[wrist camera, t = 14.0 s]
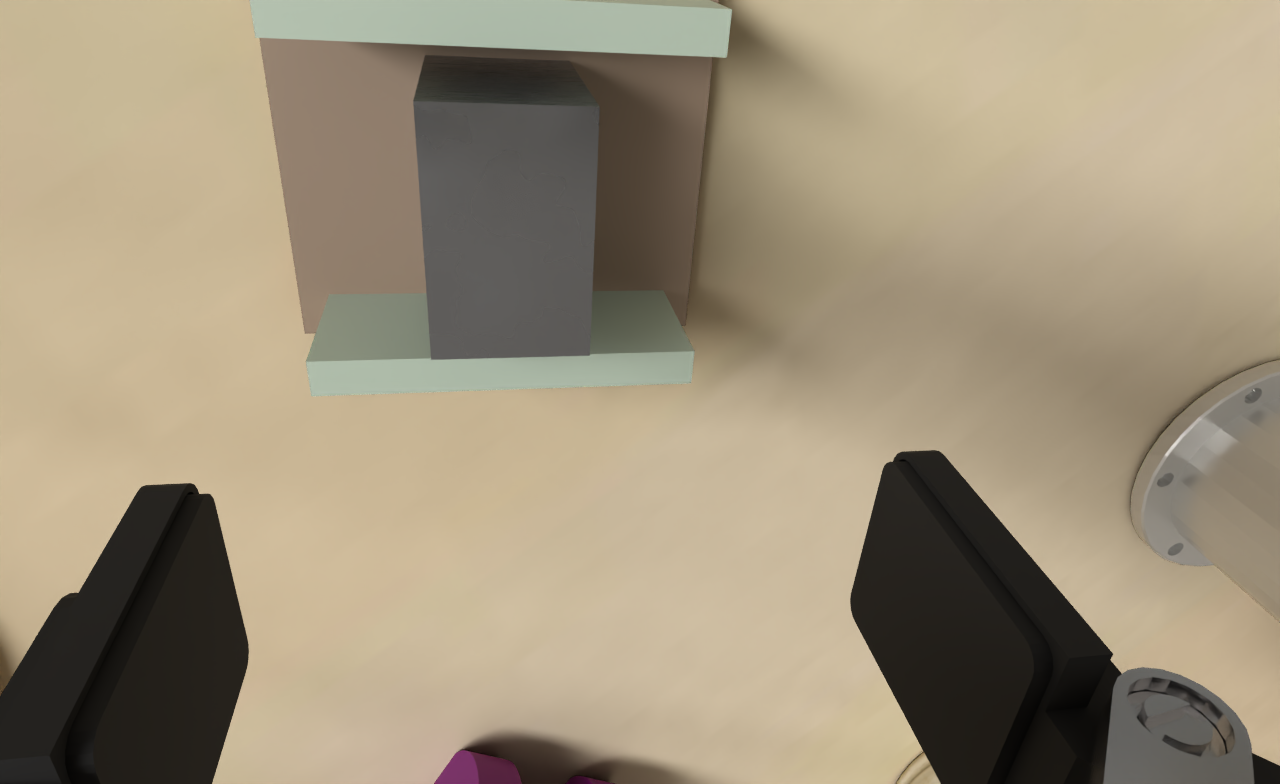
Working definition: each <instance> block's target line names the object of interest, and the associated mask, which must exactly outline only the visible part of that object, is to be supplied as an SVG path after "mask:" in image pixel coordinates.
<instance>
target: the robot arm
mask: <svg viewBox="0 0 1280 784" xmlns="http://www.w3.org/2000/svg"><path fill="white" fill-rule="evenodd" d="M1130 512H1131V518H1132V523H1133V526H1134V528H1135V530H1136V532H1137V534H1138V536H1139V537H1140V538H1141V539H1142V540H1143V541H1144V542H1145V543H1146V544H1147V545H1148V546H1149V547H1150V548H1151V549H1152V550H1153V551H1154V552H1155V553H1156V554H1158V555H1159V556H1160V557H1162V558H1163V559H1165V560H1167V561H1170V562H1173V563H1176V564H1180V565H1188V566H1208V565H1215V566H1216V567H1217V568H1219V569H1220V570H1221V571H1222V572H1223V573H1224V574H1225V575H1226V576H1228V577H1229V578H1230V579H1231V580H1232V581H1233V582H1234V583H1235V584H1237V585H1238V586H1239V587H1240V588H1241V589H1242V590H1243V591H1245V592H1246V593H1247V594H1248V595H1249V596H1250V597H1251V598H1252V599H1254V600H1255V601H1256V602H1257V603H1258V604H1259V605H1260V606H1261V607H1263V608H1264V609H1265V610H1266V611H1267V612H1268V613H1269V614H1270V615H1272V616H1273V617H1274V618H1275V619H1276V620H1277V621H1278V622H1279V623H1280V360H1277V361H1272V362H1268V363H1265V364H1262V365H1259V366H1257V367H1254V368H1251V369H1249V370H1246V371H1243V372H1241V373H1239V374H1237V375H1235V376H1233V377H1232V378H1230V379H1228V380H1226V381H1224V382H1222V383H1220V384H1218V385H1217V386H1216V387H1214V388H1213V389H1211V390H1210V391H1208V392H1207V393H1205V394H1204V395H1202V396H1201V397H1200V398H1198V399H1197V400H1196V401H1194V402H1193V403H1192V404H1191V405H1190V406H1189V407H1188V408H1186V409H1185V410H1184V411H1183V412H1182V413H1181V414H1180V415H1179V416H1177V417H1176V419H1175V420H1174V421H1173V422H1172V423H1171V424H1170V425H1169V426H1168V427H1167V429H1166V430H1165V431H1164V432H1163V433H1162V434H1161V435H1160V437H1159V438H1158V439H1157V441H1156V442H1155V444H1154V445H1153V447H1152V448H1151V450H1150V451H1149V452H1148V454H1147V456H1146V458H1145V460H1144V462H1143V464H1142V466H1141V468H1140V470H1139V472H1138V474H1137V477H1136V480H1135V483H1134V487H1133V490H1132V494H1131V506H1130ZM850 602H851V611H852V615H853V618H854V620H855V622H856V624H857V626H858V628H859V630H860V632H861V634H862V636H863V637H864V639H865V641H866V643H867V645H868V647H869V649H870V651H871V653H872V655H873V656H874V658H875V660H876V662H877V664H878V666H879V668H880V670H881V672H882V673H883V675H884V677H885V679H886V681H887V683H888V685H889V687H890V689H891V690H892V692H893V694H894V696H895V698H896V700H897V702H898V704H899V706H900V708H901V709H902V711H903V713H904V715H905V717H906V719H907V721H908V723H909V725H910V726H911V728H912V730H913V732H914V734H915V736H916V738H917V740H918V742H919V744H920V745H921V747H922V749H923V751H924V753H925V755H926V757H927V759H928V761H929V762H930V764H931V766H932V768H933V770H934V772H935V774H936V776H937V778H938V779H939V781H940V783H941V784H1280V766H1279V765H1277V764H1275V763H1272V762H1270V761H1268V760H1266V759H1264V758H1262V757H1259V756H1257V755H1255V754H1253V753H1252V748H1251V742H1250V739H1249V735H1248V732H1247V729H1246V728H1245V726H1244V725H1243V723H1242V722H1241V720H1240V719H1239V717H1238V716H1237V714H1236V713H1235V712H1234V711H1233V710H1232V709H1231V708H1230V707H1229V706H1228V705H1227V704H1226V703H1225V702H1224V701H1223V700H1221V699H1220V698H1219V697H1218V696H1216V695H1215V694H1213V693H1212V692H1210V691H1209V690H1208V689H1206V688H1205V687H1203V686H1202V685H1200V684H1198V683H1196V682H1194V681H1192V680H1190V679H1188V678H1186V677H1183V676H1181V675H1179V674H1175V673H1172V672H1169V671H1165V670H1162V669H1154V668H1143V667H1142V668H1137V669H1131V670H1127V671H1126V672H1124V673H1123V674H1122V673H1121V672H1120V671H1119V670H1118V669H1117V668H1116V666H1115V665H1114V664H1113V663H1112V662H1111V660H1110V659H1111V657H1112V655H1113V653H1112V652H1111V651H1110V650H1109V649H1108V647H1107V646H1106V645H1105V644H1104V643H1103V641H1102V640H1101V639H1100V638H1099V637H1098V636H1097V634H1096V633H1095V632H1094V631H1093V630H1092V629H1091V627H1090V626H1089V625H1088V624H1087V623H1086V621H1085V620H1084V619H1083V618H1082V617H1081V616H1080V614H1079V613H1078V612H1077V611H1076V610H1075V609H1074V607H1073V606H1072V605H1071V604H1070V603H1069V602H1068V600H1067V599H1066V598H1065V597H1064V596H1063V594H1062V593H1061V592H1060V591H1059V590H1058V589H1057V587H1056V586H1055V585H1054V584H1053V583H1052V582H1051V580H1050V579H1049V578H1048V577H1047V576H1046V574H1045V573H1044V572H1043V571H1042V570H1041V569H1040V567H1039V566H1038V565H1037V564H1036V563H1035V562H1034V560H1033V559H1032V558H1031V557H1030V556H1029V555H1028V553H1027V552H1026V551H1025V550H1024V549H1023V547H1022V546H1021V545H1020V544H1019V543H1018V542H1017V540H1016V539H1015V538H1014V537H1013V536H1012V535H1011V533H1010V532H1009V531H1008V530H1007V529H1006V527H1005V526H1004V525H1003V524H1002V523H1001V522H1000V520H999V519H998V518H997V517H996V516H995V515H994V513H993V512H992V511H991V510H990V509H989V507H988V506H987V505H986V504H985V503H984V502H983V500H982V499H981V498H980V497H979V496H978V495H977V493H976V492H975V491H974V490H973V489H972V488H971V486H970V485H969V484H968V483H967V482H966V480H965V479H964V478H963V477H962V476H961V475H960V473H959V472H958V471H957V470H956V469H955V468H954V466H953V465H952V464H951V463H950V462H949V460H948V459H947V458H946V457H945V456H944V455H943V454H942V453H941V452H940V451H935V450H931V451H908V452H900V453H898V454H897V455H896V457H895V458H894V461H893V462H888V463H887V464H886V465H885V466H884V468H883V471H882V475H881V479H880V483H879V487H878V491H877V495H876V499H875V502H874V506H873V510H872V514H871V518H870V522H869V526H868V530H867V534H866V538H865V542H864V545H863V549H862V553H861V557H860V561H859V565H858V569H857V573H856V577H855V581H854V585H853V588H852V592H851V598H850ZM248 654H249V649H248V640H247V635H246V631H245V627H244V623H243V619H242V615H241V610H240V606H239V602H238V598H237V594H236V589H235V585H234V581H233V577H232V573H231V569H230V564H229V560H228V556H227V552H226V548H225V544H224V539H223V535H222V531H221V527H220V523H219V518H218V514H217V510H216V506H215V502H214V499H213V497H212V496H211V495H210V494H199V492H198V489H197V488H196V486H195V485H194V484H191V483H186V484H164V485H145V486H143V487H141V488H140V489H139V491H138V492H137V494H136V495H135V497H134V499H133V500H132V502H131V504H130V506H129V507H128V509H127V511H126V512H125V514H124V516H123V518H122V519H121V521H120V523H119V524H118V526H117V528H116V530H115V531H114V533H113V535H112V536H111V538H110V540H109V542H108V543H107V545H106V547H105V548H104V550H103V552H102V554H101V555H100V557H99V559H98V560H97V562H96V564H95V566H94V567H93V569H92V571H91V572H90V574H89V576H88V578H87V579H86V581H85V583H84V584H83V586H82V588H81V590H80V591H79V593H70V594H68V595H66V596H64V597H63V598H61V600H60V601H59V602H58V603H57V605H56V606H55V607H54V608H53V610H52V612H51V613H50V615H49V617H48V618H47V620H46V622H45V623H44V625H43V627H42V628H41V630H40V631H39V633H38V635H37V636H36V638H35V640H34V641H33V643H32V645H31V646H30V648H29V650H28V651H27V653H26V655H25V656H24V658H23V660H22V661H21V663H20V664H19V666H18V668H17V669H16V671H15V673H14V674H13V676H12V678H11V679H10V681H9V683H8V684H7V686H6V688H5V689H4V691H3V693H2V694H1V696H0V784H212V782H213V778H214V775H215V772H216V768H217V765H218V762H219V759H220V755H221V752H222V749H223V745H224V742H225V739H226V736H227V732H228V729H229V726H230V722H231V719H232V716H233V713H234V709H235V706H236V703H237V699H238V696H239V693H240V690H241V686H242V683H243V680H244V676H245V673H246V669H247V665H248Z"/></svg>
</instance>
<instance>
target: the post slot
mask: <svg viewBox="0 0 1280 784" xmlns="http://www.w3.org/2000/svg"><path fill="white" fill-rule="evenodd" d="M718 1H719V0H250V6H251V12H252V19H253V25H254V32H255V38H260V45H261V51H262V58H263V64H264V71H265V77H266V84H267V90H268V97H269V103H270V110H271V116H272V123H273V129H274V136H275V142H276V149H277V155H278V162H279V168H280V175H281V181H282V188H283V194H284V201H285V207H286V214H287V220H288V227H289V233H290V240H291V246H292V253H293V259H294V266H295V272H296V279H297V285H298V292H299V298H300V305H301V311H302V318H303V325H304V331H305V333H316V334H315V337H314V340H313V343H312V346H311V349H310V352H309V354H308V357H307V360H306V365H307V371H308V378H309V384H310V391H311V396H334V395H363V394H392V393H421V392H451V391H480V390H509V389H538V388H567V387H597V386H626V385H655V384H684V383H691V379H692V370H693V361H694V352H695V351H694V349H693V347H692V345H691V343H690V342H689V340H688V338H687V336H686V334H685V332H684V330H683V328H682V326H685V325H686V315H687V305H688V295H689V285H690V276H691V266H692V256H693V246H694V236H695V227H696V217H697V207H698V197H699V187H700V178H701V168H702V158H703V148H704V138H705V129H706V119H707V109H708V99H709V89H710V80H711V70H712V60H713V57H724V58H727V52H728V42H729V33H730V24H731V15H732V9H730V8H728V7H725V6H723V5H720V4H718ZM425 55H439V56H463V57H488V58H512V59H537V60H561V61H570V62H571V64H572V65H573V67H574V68H575V70H576V71H577V73H578V75H579V76H580V78H581V79H582V81H583V82H584V84H585V85H586V87H587V88H588V90H589V91H590V93H591V94H592V96H593V97H594V99H595V100H596V102H597V103H598V105H599V107H600V113H599V138H598V163H597V189H596V214H595V239H594V265H593V290H592V315H591V341H590V356H559V357H521V358H483V359H446V360H431V352H430V337H429V323H428V308H427V294H426V279H425V265H424V251H423V236H422V222H421V207H420V193H419V178H418V164H417V150H416V135H415V121H414V106H413V100H414V96H415V92H416V88H417V84H418V80H419V76H420V72H421V69H422V65H423V61H424V57H425Z"/></svg>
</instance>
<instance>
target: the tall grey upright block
mask: <svg viewBox="0 0 1280 784" xmlns="http://www.w3.org/2000/svg"><path fill="white" fill-rule="evenodd" d="M413 106H414V121H415V135H416V150H417V164H418V178H419V193H420V207H421V222H422V236H423V251H424V265H425V279H426V294H427V308H428V323H429V337H430V352H431V360H446V359H483V358H521V357H559V356H590V341H591V315H592V290H593V265H594V239H595V214H596V189H597V163H598V138H599V113H600V107H599V105H598V103H597V102H596V100H595V99H594V97H593V96H592V94H591V93H590V91H589V90H588V88H587V87H586V85H585V84H584V82H583V81H582V79H581V78H580V76H579V75H578V73H577V71H576V70H575V68H574V67H573V65H572V64H571V62H570V61H561V60H537V59H512V58H488V57H463V56H439V55H425V57H424V61H423V65H422V69H421V72H420V76H419V80H418V84H417V88H416V92H415V96H414V100H413Z"/></svg>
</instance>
